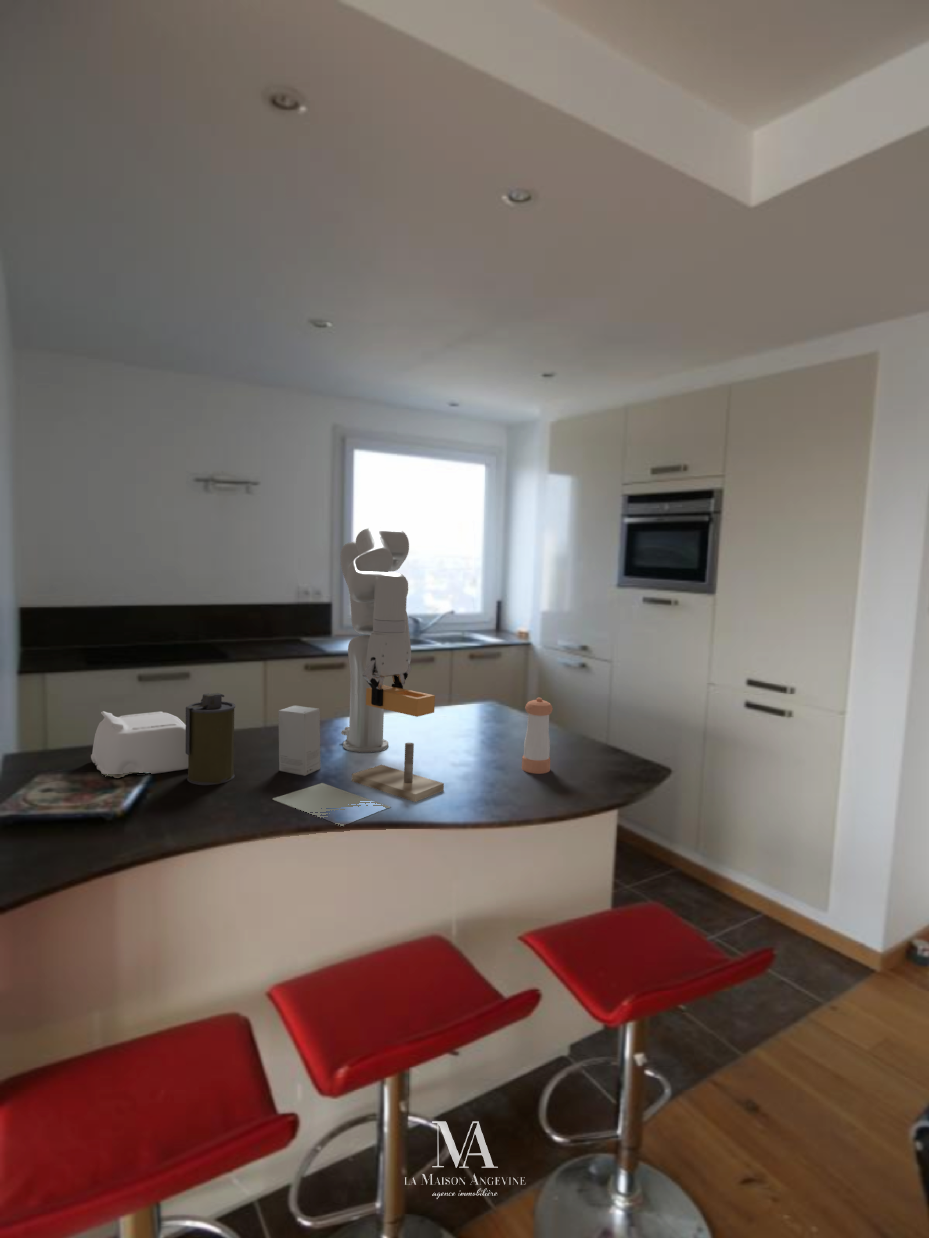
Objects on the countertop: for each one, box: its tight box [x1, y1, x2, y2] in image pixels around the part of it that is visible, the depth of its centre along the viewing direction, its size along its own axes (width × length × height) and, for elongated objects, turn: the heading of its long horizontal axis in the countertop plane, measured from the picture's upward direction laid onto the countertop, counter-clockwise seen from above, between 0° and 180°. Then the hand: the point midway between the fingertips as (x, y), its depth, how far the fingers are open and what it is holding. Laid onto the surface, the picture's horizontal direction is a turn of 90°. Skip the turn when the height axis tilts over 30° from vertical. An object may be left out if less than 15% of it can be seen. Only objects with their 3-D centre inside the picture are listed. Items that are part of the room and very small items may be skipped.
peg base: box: [351, 742, 445, 803], centre depth 156 cm, size 20×10×11 cm, turn 53°
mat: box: [272, 782, 391, 827], centre depth 144 cm, size 22×14×1 cm, turn 53°
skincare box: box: [278, 705, 321, 777], centre depth 165 cm, size 8×7×16 cm
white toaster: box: [90, 710, 188, 775], centre depth 167 cm, size 19×30×13 cm, turn 128°
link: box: [366, 684, 436, 718], centre depth 155 cm, size 16×6×4 cm, turn 53°
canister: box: [185, 692, 236, 786], centre depth 156 cm, size 11×10×20 cm
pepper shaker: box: [521, 697, 554, 775], centre depth 173 cm, size 7×7×19 cm
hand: (387, 702), depth 157 cm, fingers closed on link, 6 cm apart
